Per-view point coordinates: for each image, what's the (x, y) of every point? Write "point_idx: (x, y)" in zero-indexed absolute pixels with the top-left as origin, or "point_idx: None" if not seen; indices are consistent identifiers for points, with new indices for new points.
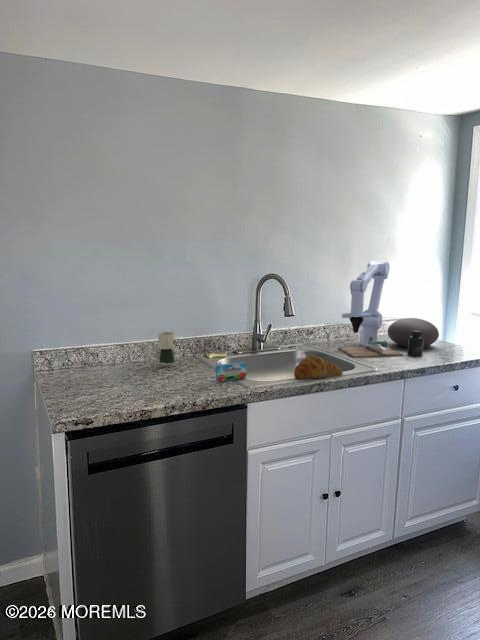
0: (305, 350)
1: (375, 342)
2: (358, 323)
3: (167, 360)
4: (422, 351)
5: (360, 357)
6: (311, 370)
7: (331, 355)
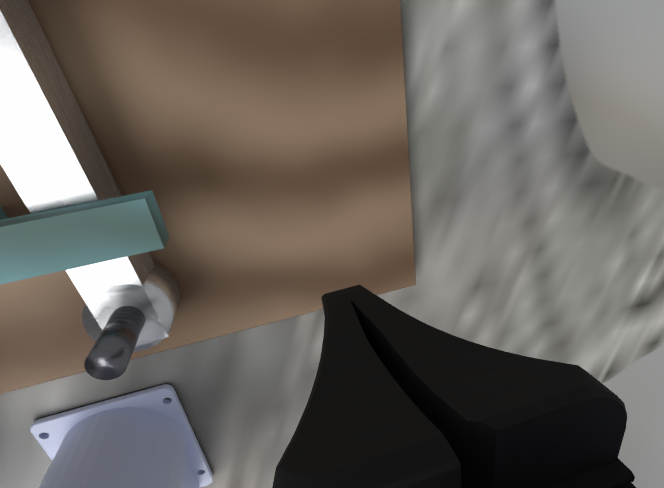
0: (634, 206)
1: (63, 213)
2: (387, 373)
3: None
4: None
5: None
6: None
7: (541, 43)
